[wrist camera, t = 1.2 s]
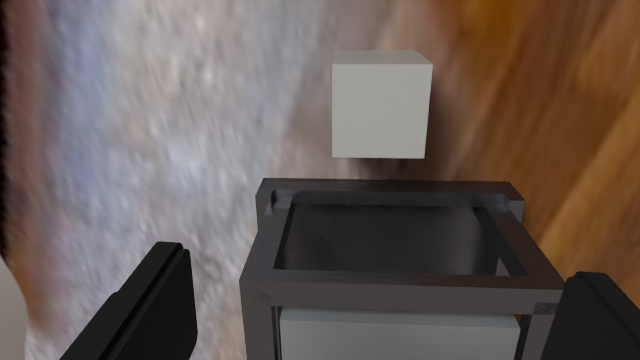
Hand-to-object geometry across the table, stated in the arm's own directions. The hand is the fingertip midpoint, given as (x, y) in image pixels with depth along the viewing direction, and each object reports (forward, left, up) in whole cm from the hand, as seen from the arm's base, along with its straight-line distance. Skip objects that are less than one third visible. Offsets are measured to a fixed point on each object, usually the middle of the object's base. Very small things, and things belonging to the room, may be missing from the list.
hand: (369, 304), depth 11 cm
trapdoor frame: (-2, +14, -19) cm, 24 cm away
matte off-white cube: (-1, -1, -19) cm, 19 cm away
